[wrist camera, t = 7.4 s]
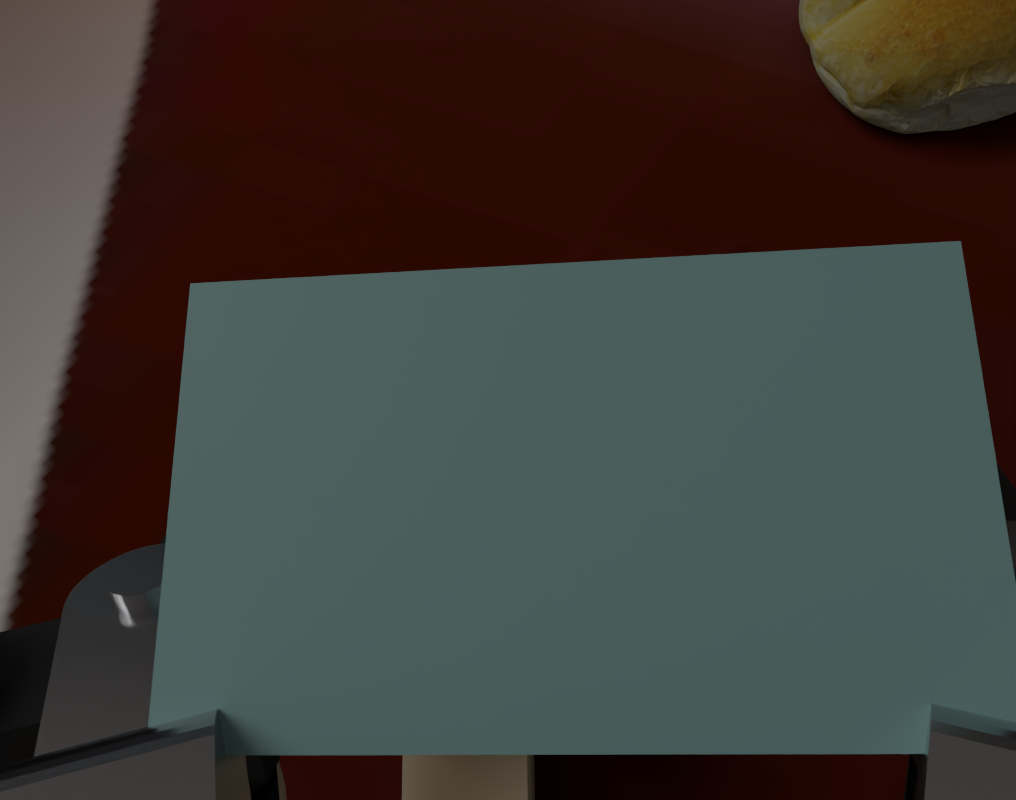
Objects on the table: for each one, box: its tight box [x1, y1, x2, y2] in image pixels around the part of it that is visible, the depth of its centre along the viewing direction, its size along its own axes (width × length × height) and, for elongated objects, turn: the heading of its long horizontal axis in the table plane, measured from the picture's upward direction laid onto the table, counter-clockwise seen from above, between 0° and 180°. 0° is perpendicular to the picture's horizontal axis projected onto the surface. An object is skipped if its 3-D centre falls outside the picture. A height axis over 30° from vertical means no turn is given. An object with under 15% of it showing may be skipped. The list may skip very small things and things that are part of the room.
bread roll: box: [799, 0, 1016, 134], centre depth 32 cm, size 8×9×4 cm
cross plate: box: [148, 241, 1016, 755], centre depth 11 cm, size 5×3×10 cm, turn 90°
